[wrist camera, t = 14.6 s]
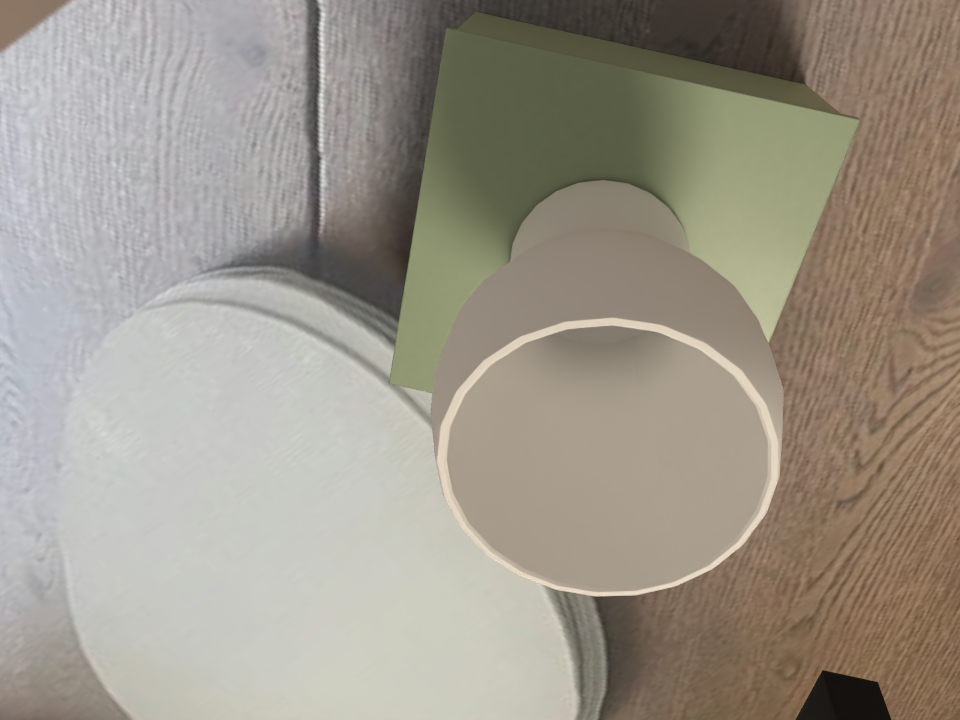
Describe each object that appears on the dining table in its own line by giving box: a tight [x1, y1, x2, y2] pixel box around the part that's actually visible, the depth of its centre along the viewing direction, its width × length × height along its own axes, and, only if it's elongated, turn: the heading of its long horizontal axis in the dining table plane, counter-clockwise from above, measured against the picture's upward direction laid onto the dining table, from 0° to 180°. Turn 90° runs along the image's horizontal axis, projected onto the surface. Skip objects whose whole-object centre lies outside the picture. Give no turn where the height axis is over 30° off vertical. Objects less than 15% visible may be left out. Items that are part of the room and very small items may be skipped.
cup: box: [431, 180, 783, 596], centre depth 30 cm, size 11×11×15 cm
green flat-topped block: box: [389, 12, 860, 393], centre depth 40 cm, size 16×16×8 cm
